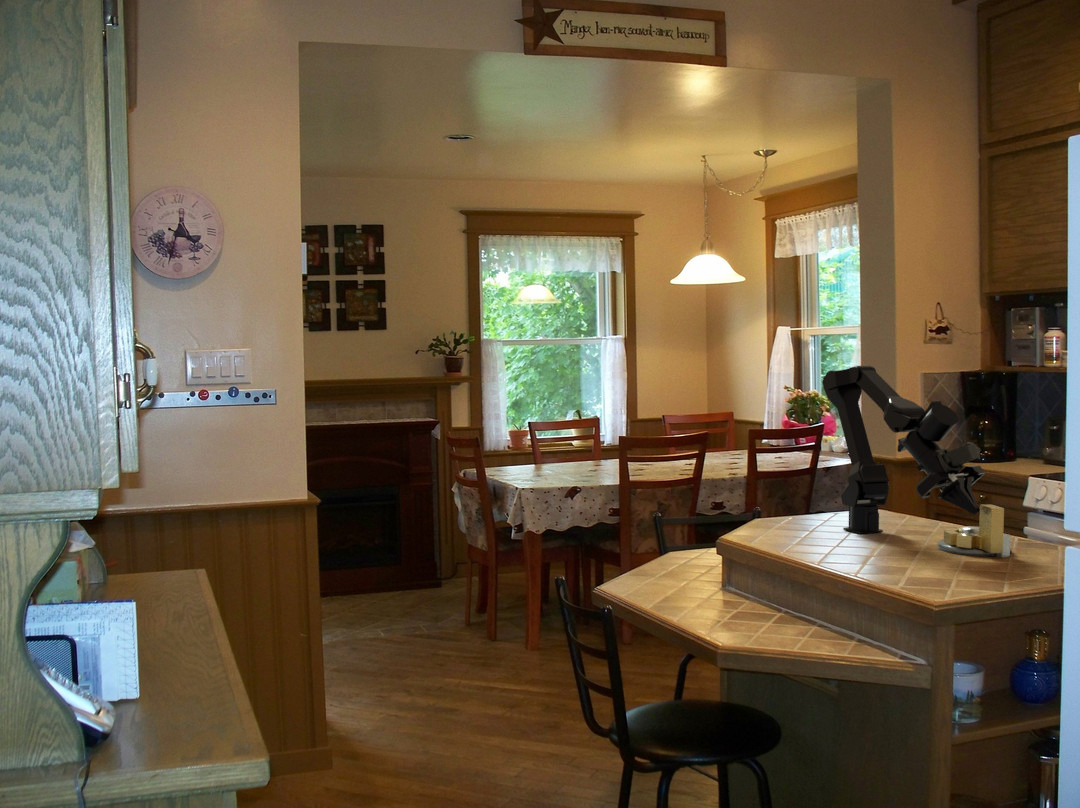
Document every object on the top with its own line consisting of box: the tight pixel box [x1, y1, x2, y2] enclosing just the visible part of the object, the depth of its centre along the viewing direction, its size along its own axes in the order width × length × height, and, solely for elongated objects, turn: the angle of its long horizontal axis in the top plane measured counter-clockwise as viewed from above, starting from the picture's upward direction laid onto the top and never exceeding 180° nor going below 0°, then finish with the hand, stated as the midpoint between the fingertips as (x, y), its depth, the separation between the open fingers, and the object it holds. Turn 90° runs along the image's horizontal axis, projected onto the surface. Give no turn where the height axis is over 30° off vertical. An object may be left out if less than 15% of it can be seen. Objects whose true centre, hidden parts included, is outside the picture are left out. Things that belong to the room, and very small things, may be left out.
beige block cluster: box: [943, 504, 1005, 553], centre depth 214 cm, size 11×16×9 cm
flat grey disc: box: [937, 525, 1011, 559], centre depth 216 cm, size 16×14×4 cm
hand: (977, 513), depth 210 cm, fingers closed
